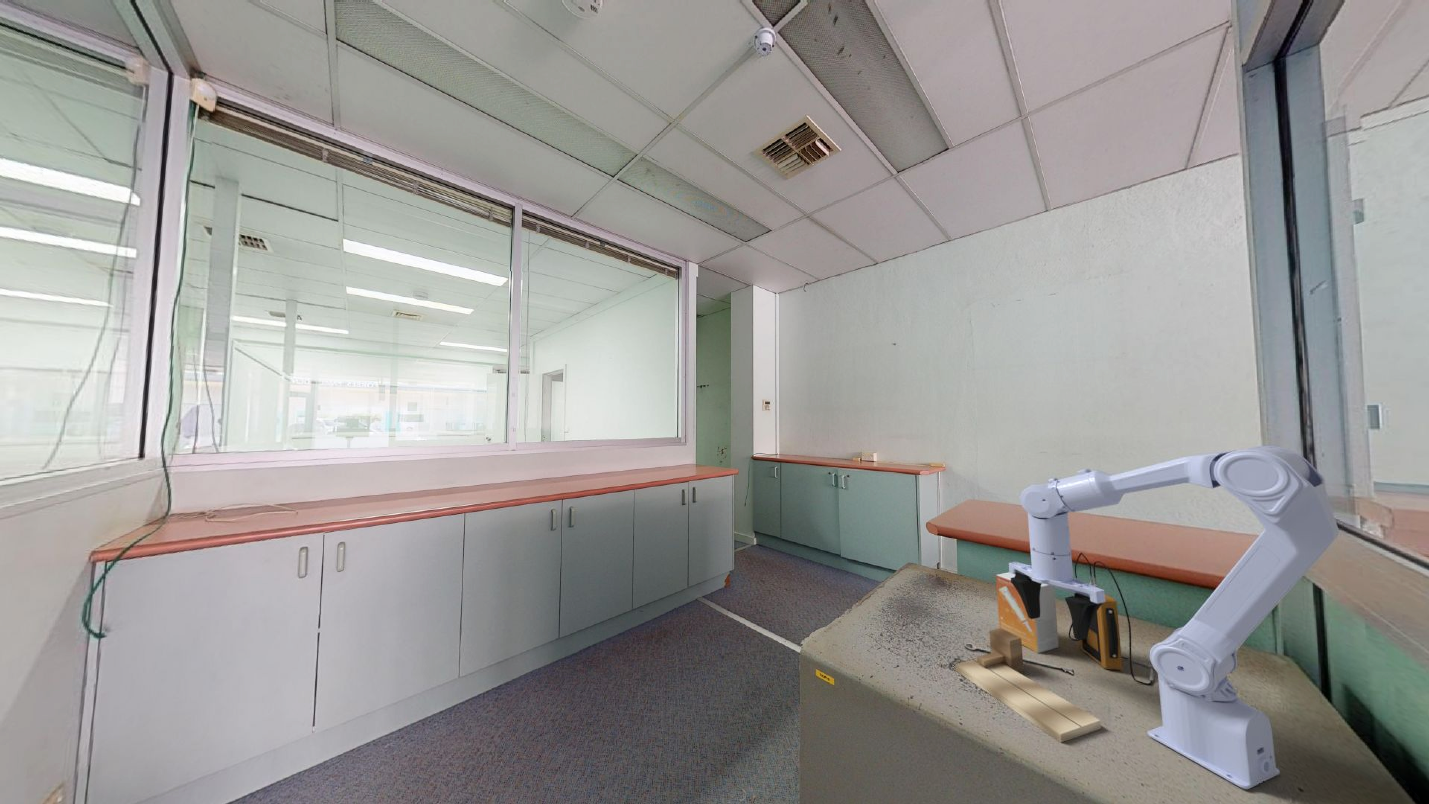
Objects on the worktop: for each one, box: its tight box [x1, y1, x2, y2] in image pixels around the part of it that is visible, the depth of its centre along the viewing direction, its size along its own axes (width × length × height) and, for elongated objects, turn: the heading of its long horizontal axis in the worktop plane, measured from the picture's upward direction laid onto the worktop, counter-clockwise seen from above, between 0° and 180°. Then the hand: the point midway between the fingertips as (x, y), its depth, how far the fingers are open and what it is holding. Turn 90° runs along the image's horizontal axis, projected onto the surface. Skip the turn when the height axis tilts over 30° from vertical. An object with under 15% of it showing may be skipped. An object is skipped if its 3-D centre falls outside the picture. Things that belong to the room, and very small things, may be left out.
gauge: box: [976, 628, 1024, 673], centre depth 76 cm, size 4×8×6 cm, turn 106°
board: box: [954, 658, 1102, 743], centre depth 68 cm, size 18×8×1 cm, turn 16°
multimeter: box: [1068, 552, 1155, 686], centre depth 77 cm, size 15×10×20 cm
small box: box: [995, 571, 1059, 654], centre depth 85 cm, size 8×6×13 cm
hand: (1056, 627), depth 71 cm, fingers open, 7 cm apart
